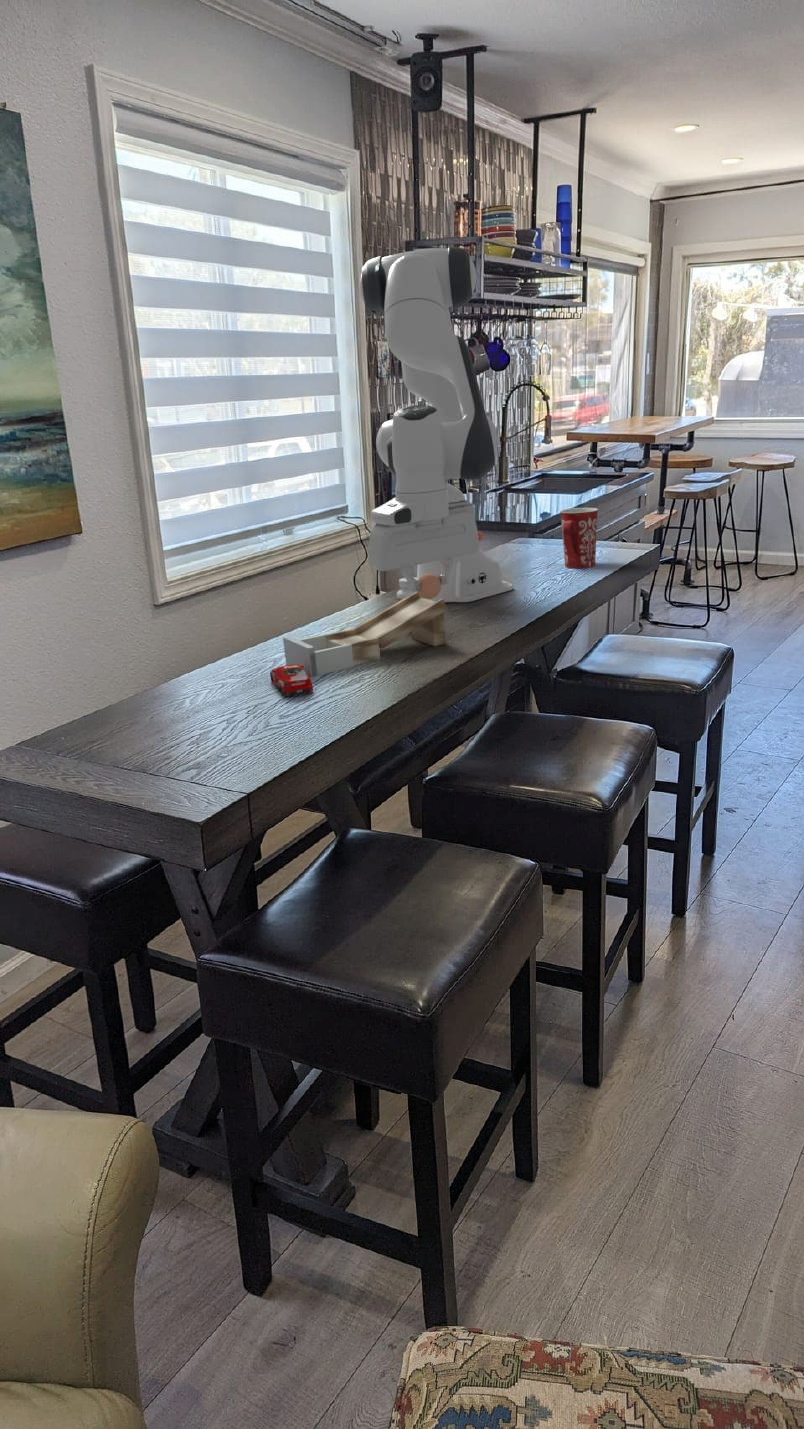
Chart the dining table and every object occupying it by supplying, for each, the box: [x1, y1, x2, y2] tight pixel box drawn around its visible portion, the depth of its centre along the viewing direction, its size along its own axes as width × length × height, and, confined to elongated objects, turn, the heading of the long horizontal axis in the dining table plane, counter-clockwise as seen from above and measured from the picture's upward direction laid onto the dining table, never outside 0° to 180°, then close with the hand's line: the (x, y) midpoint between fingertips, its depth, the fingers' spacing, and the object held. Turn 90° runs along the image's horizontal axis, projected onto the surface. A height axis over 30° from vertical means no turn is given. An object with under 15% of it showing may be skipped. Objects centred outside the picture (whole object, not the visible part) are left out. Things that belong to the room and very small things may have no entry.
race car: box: [269, 664, 314, 697], centre depth 162 cm, size 13×5×4 cm, turn 17°
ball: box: [417, 573, 441, 599], centre depth 170 cm, size 4×4×4 cm
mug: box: [559, 507, 599, 569], centre depth 237 cm, size 13×9×14 cm
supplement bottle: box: [396, 576, 423, 603], centre depth 192 cm, size 5×5×10 cm
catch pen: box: [282, 633, 355, 678], centre depth 172 cm, size 8×10×5 cm
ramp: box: [325, 592, 448, 666], centre depth 178 cm, size 20×10×8 cm, turn 120°
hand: (428, 587), depth 170 cm, fingers closed on ball, 4 cm apart
